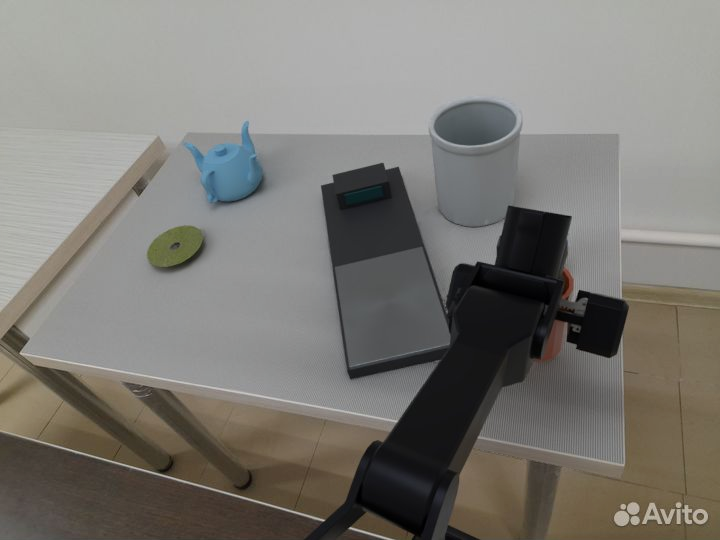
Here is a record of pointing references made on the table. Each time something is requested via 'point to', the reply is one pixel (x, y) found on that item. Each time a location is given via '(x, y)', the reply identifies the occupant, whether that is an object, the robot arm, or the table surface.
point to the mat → (174, 246)
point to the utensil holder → (475, 158)
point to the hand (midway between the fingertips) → (541, 301)
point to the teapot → (229, 169)
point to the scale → (382, 274)
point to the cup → (559, 322)
